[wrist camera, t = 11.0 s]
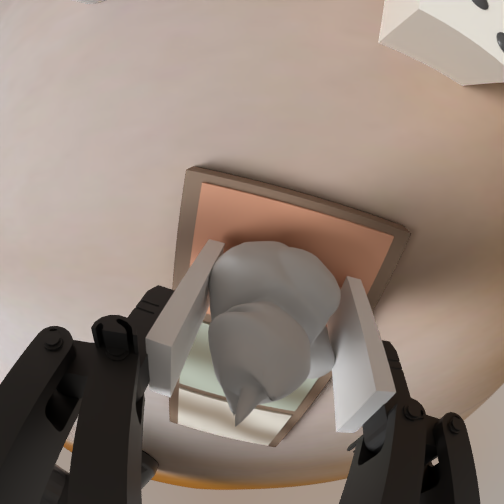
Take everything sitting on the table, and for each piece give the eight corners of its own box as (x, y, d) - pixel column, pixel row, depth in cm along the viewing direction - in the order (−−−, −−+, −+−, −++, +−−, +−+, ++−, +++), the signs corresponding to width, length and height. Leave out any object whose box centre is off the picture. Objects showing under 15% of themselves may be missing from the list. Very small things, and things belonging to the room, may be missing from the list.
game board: (276, 439, 24) (275, 448, 22) (172, 413, 24) (169, 422, 23) (404, 226, 13) (412, 234, 12) (193, 166, 13) (184, 170, 12)
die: (461, 86, 9) (523, 81, 4) (377, 43, 9) (419, 8, 4) (466, 17, 6) (517, -4, 2) (387, -25, 7) (419, -69, 2)
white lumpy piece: (277, 196, 11) (244, 325, 4) (365, 297, 13) (400, 444, 6) (195, 268, 14) (114, 399, 6) (282, 347, 15) (266, 480, 8)
